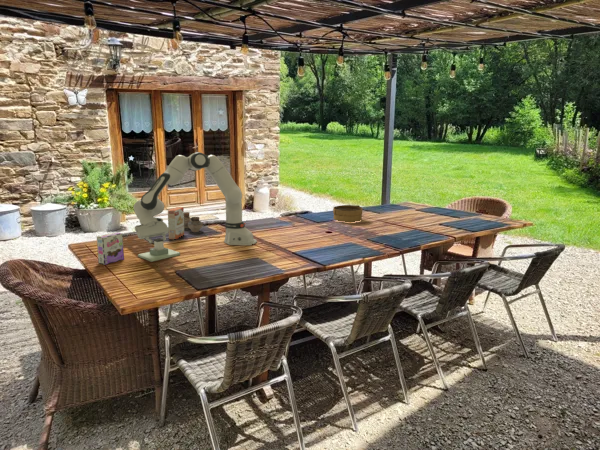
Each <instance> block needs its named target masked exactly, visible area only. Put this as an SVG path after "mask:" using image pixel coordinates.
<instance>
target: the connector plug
mask: <svg viewBox="0 0 600 450" xmlns="http://www.w3.org/2000/svg"><path fill="white" fill-rule="evenodd" d="M153 245H154V246H153V248H154V249H155V250H157V251H158V250H162V249H164V248H165V245H164V241H163V239H162V238H155V239H153Z"/></svg>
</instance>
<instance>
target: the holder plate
mask: <svg viewBox="0 0 600 450" xmlns="http://www.w3.org/2000/svg"><path fill="white" fill-rule="evenodd" d="M178 256H181V252H179V251H176V250H173V249H171V248H168V247H164V249H162V250H158V251H157V250H155V249H154V247H153V248H149V251H146V252H143V253H139V254H138V255H137V257H138V258H140V259H144V260H146V261H148V262H151V263H152V262H157V261H160V260H164V259H168V258H172V257H178Z"/></svg>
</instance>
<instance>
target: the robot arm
mask: <svg viewBox="0 0 600 450" xmlns="http://www.w3.org/2000/svg"><path fill="white" fill-rule="evenodd" d="M203 169H205V170H206V171H207V172H208V174H209V175H210V176H211V178H212V179H213V181H214V182H215V184H216V185H217V188H218V189H219V191H220V192H221V193H222V195H223V197H224V198H225V236H224V240H223V242H224V243H225V244H227V245H228V246H252V244H253V245H255V244H256V243H257V242H258V241H257V239H255V238H254V234H253V232H252V231H251V230H249V229H248V228H247V227H246V226H245V225H246V222H244V221H243V207H242V205H243V204H242V203H243V201H242V199H243V192H242V190H241V188H240V187H239V186H238V184H237V183H236V182H235V180H234V179H233V176H232V175H231V174H230V172H229V170H228V169H227V168H226V166H225V164H223V162H222V161H221V160H220V158H218V157H217V156H216V155H214V154H209V155H206V154H205V153H203V152H200V151H199V152H198V151H197V152H194V153H192V154H190V155H189V156H185V155H184V154H183V155H182V154H178V155H175V157H174V158H173V159H172V160H171V162H170V163H169V165H168V166H167V168H166V170H165V171H164V172H163V173H162V174H160V175H159V176H158V177H157V179H156V180H155V182H154V183H153V184H152V186H151V187H150V188H149V190H147V192H145V193H144V194H143V195H142V197H141V198H140V199H139V200H137V201H136V202H134V204H133V211H134V214H135V216H136V218H137V219H138V220H139V223H140V224H137V225H135V226H134V230H135V232H136V235H137V238H138V239H139V240H143V239H145V240H146V241H147V242H148V243H149V244H153V243H154V240H153V239H150V238H153V237H155V238H156V237H159V236H161V237H162V238H161V239H163V242H164V241H166V240H167V238H166V237H167V235H169V228H168V224H167V223H166V222H164V218H161V217H156V216H157V215H160V214H162V212H164V210H165V204H164V202H163V201H162V200H161V199H160V198H159V195H160V194H161V192H162V191H163V190H164V189H165V187H166V186H167V185H176V184H178V183H180V181H181V180H182V179H183V178H184V176H185V174H186V172H187V171H188V170H189V171H193V172H196V171H200V170H203Z"/></svg>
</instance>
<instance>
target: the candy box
mask: <svg viewBox="0 0 600 450" xmlns="http://www.w3.org/2000/svg"><path fill="white" fill-rule="evenodd" d="M96 245H97V247H96V248H97V261H98V264H101V265H104V266H105V265H108V264H112V263H115V262H116V263H117V262H119V261H122V260H125V251H124V238H123V233H122V232H117V231H116V232H112V233H111V232H110V233H107V234H102V235H98V236H97V235H96Z"/></svg>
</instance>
